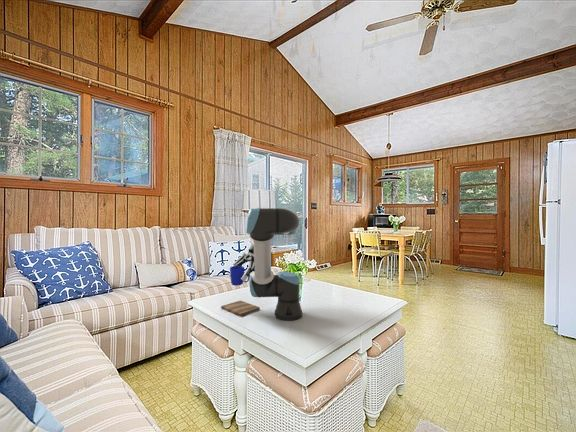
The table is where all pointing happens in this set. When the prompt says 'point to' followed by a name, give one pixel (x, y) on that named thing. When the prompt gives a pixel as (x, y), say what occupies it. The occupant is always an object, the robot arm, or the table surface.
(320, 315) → the table surface
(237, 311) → the walnut board
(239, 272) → the mug
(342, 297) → the table surface
